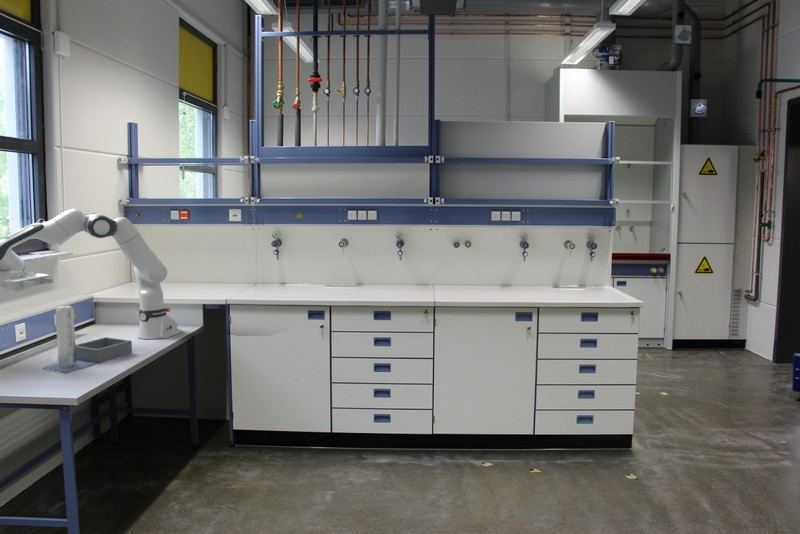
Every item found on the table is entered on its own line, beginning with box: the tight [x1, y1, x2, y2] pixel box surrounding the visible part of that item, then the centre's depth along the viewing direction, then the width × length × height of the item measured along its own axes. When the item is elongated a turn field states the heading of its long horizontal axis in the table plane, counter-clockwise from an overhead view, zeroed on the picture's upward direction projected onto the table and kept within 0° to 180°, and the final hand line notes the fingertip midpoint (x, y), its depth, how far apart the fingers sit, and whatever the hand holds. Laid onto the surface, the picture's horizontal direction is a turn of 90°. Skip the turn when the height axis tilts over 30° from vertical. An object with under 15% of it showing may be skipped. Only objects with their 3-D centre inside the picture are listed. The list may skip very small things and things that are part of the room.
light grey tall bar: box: [54, 305, 76, 368], centre depth 246 cm, size 6×6×25 cm
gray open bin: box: [75, 336, 133, 365], centre depth 264 cm, size 18×16×6 cm
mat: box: [42, 360, 97, 374], centre depth 248 cm, size 14×14×1 cm
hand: (43, 282), depth 254 cm, fingers open, 8 cm apart
